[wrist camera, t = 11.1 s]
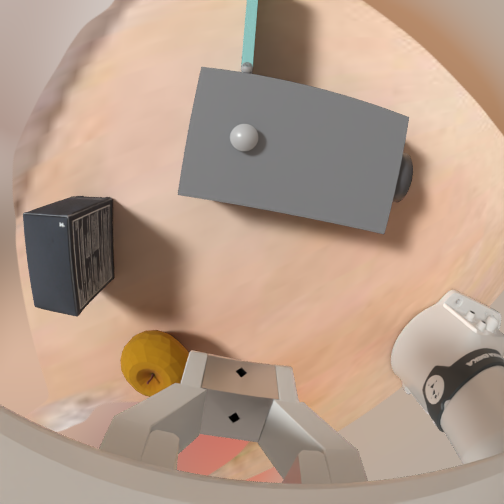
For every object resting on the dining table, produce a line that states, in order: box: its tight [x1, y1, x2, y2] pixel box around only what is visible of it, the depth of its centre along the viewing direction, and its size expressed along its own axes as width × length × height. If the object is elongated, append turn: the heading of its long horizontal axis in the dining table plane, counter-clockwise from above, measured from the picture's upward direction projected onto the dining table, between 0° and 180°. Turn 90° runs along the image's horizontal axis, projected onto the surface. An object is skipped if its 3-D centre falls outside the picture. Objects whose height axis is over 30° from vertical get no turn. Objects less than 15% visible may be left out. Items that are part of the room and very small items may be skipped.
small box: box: [23, 196, 114, 316], centre depth 31 cm, size 11×6×10 cm, turn 174°
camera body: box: [178, 67, 413, 234], centre depth 30 cm, size 22×12×8 cm, turn 79°
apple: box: [121, 330, 189, 397], centre depth 36 cm, size 9×9×9 cm
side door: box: [241, 0, 258, 74], centre depth 26 cm, size 14×2×7 cm, turn 176°
